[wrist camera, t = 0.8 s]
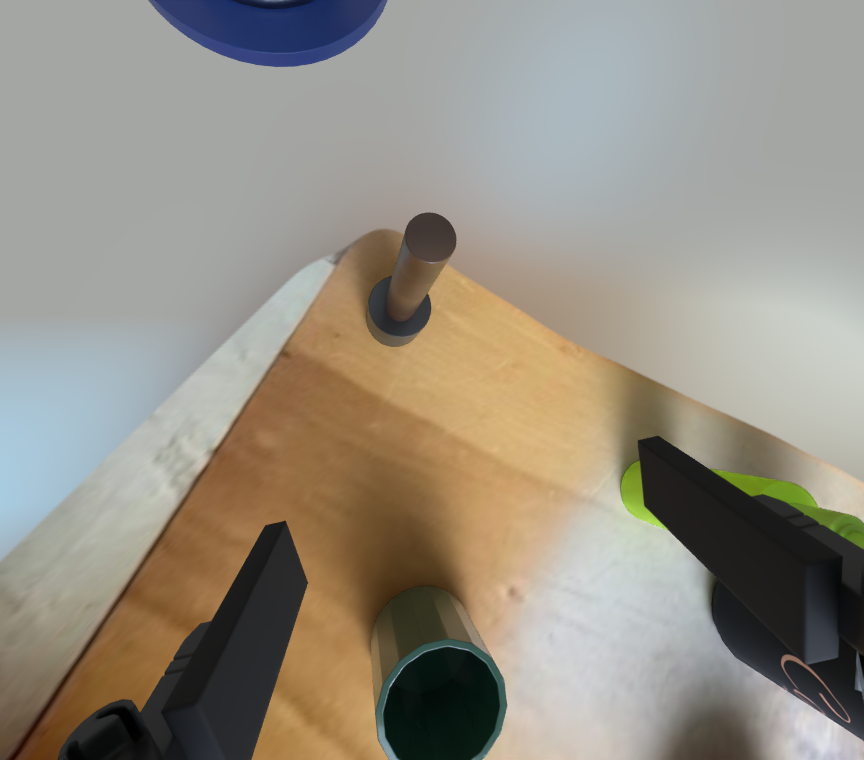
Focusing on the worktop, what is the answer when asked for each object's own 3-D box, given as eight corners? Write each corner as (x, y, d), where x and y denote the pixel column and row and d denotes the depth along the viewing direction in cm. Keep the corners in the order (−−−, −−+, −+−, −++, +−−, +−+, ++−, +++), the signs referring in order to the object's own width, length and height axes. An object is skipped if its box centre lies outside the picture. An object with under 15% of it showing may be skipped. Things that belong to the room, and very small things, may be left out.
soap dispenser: (662, 440, 41) (949, 470, 21) (681, 509, 41) (988, 603, 21) (610, 458, 40) (862, 507, 20) (630, 528, 39) (903, 648, 20)
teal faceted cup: (352, 624, 34) (351, 693, 26) (441, 565, 36) (467, 613, 28) (402, 713, 35) (417, 810, 26) (488, 651, 36) (528, 724, 28)
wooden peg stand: (356, 307, 36) (358, 211, 18) (404, 283, 37) (450, 170, 19) (383, 356, 36) (410, 306, 19) (430, 331, 37) (499, 261, 20)
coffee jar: (686, 615, 40) (950, 780, 22) (743, 526, 42) (1029, 612, 24) (760, 682, 41) (1069, 890, 23) (813, 591, 43) (1137, 720, 25)
